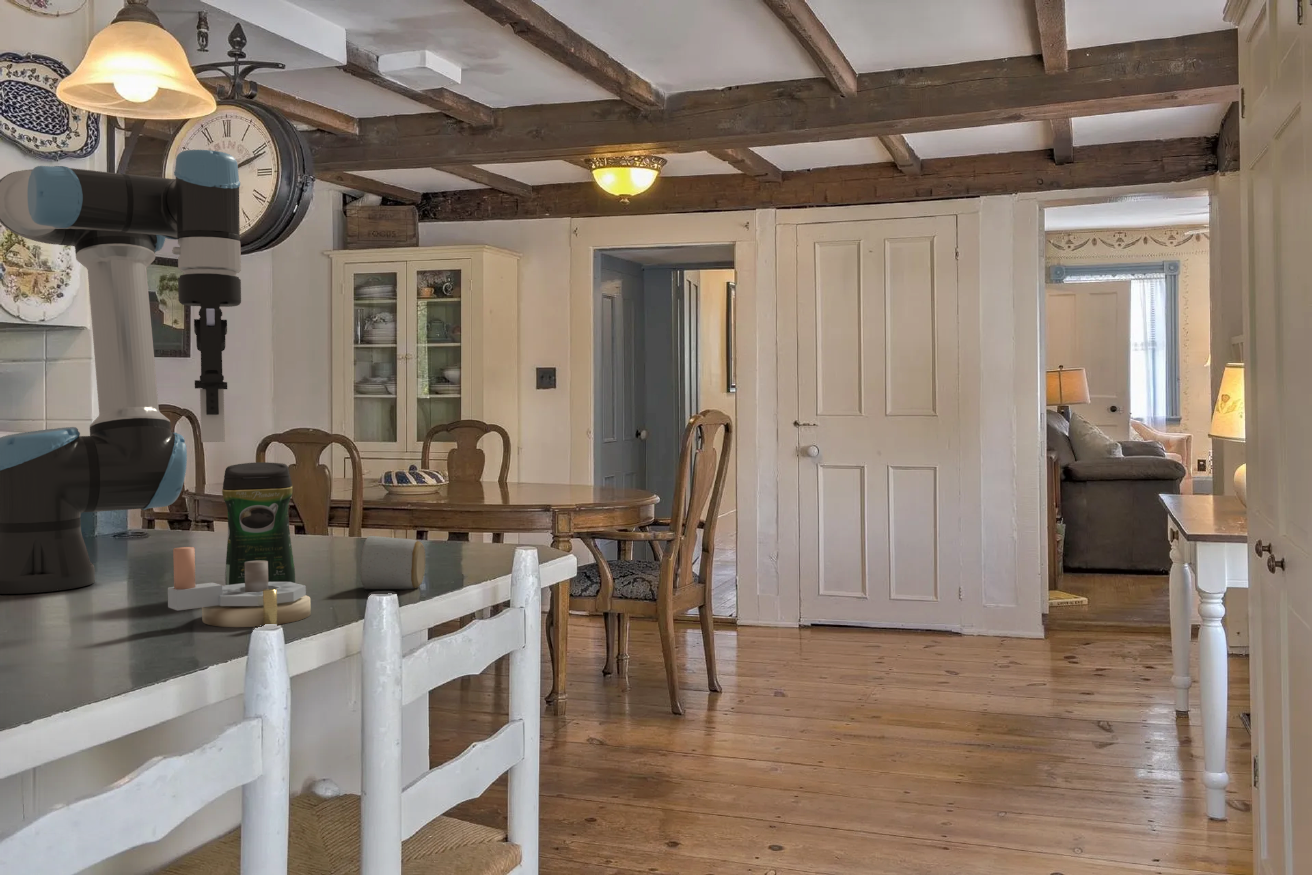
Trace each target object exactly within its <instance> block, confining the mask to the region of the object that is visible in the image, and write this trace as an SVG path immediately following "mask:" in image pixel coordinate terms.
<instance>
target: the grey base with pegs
mask: <svg viewBox="0 0 1312 875" xmlns="http://www.w3.org/2000/svg"><path fill="white" fill-rule="evenodd" d="M195 551H196V550H195V547H194V546H181V547H174V548H173V551H172V553H173V554H172V556H173V558H172V559H173V586H171V587H167V608H168V609H172V610H174V611H184V610H191V609H192V610H193V609H199V608H200V609H202V607H209V606H217V605H220V606H262V605H263V591H262V592H245V583H241V584H233V585H225V584H224V585H222V584H219V583H215V582H206V583H204V582H203V583H196V564H195V563H196V559H195V558H196V556H195V554H196V553H195ZM268 589H277V603H285V602H292V601H295V600H297V599H299V598H301V597H303V596H305V595H307V585H305V584H301V583H297V582H295V583H293V582H268Z"/></svg>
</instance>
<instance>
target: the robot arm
mask: <svg viewBox="0 0 1312 875" xmlns="http://www.w3.org/2000/svg"><path fill="white" fill-rule="evenodd" d="M238 164H239V163H238V161H237V159H236V158H235V156H233V155H232V154H229V153H227V152H223V151H219V150H213V149H212V150H211V149H188V150H187V149H186V150H183V151H180V152H179V153H178V154H177V155H176V158H175V167H174V168H175V169H174V171H173V175H174V176H175V178H167V177H159V176H150V175H149V176H147V175H139V174H138V175H137V174H127V173H116V172H108V171H101V170H100V171H99V170H98V171H97V170H91V169H83V168H75V167H74V168H73V167H71V168H70V167H68V166H62V165H54V166H53V165H52V166H50V165H37V166H34V168H31V169H24V170H23V169H22V170H17V171H13V172H9V173H7V175H6V174H5V176H3V177H2V178H0V224H1V225H2V227H5V229H7V230H9V231H10V232H12V233H13V234H15V235H17V236H20V237H22V238H25V239H28V240H31V241H35V242H38V243H42V244H48V245H55V246H56V245H59V246H66V247H67V246H68V247H74V252H75V260H76V261H77V262H78V263H79V264H80V265H82V266H84V268H86V270H87V277H88V278H87V279H88V292H89V305H90V315H91V328H92V341H93V343H92V344H93V353H94V364H95V365H94V366H95V376H96V379H95V380H96V390H97V402H98V416H96V418H95V420H94V421H93V422H92V423H91V424H90V425H89V435H81V432H80V431H79V429H78V428H77V427H75V426H69V427H68V426H67V427H65V426H64V427H57V428H48V429H47V428H46V429H40V430H33V431H31V430H30V431H26V432H25V431H24V432H19V433H14V434H8V435H4V436H0V594H2V595H3V594H5V595H7V594H8V595H13V594H16V595H17V594H35V593H46V592H48V593H49V592H57V591H66V590H70V589H76V588H77V589H78V588H82V587H86V586H90V585H93V584H94V583H95V582H96V573H95V572H96V568H95V566H94V563H92V562H91V561H90V556H89V552H88V548H87V546H86V543H85V540H84V537H83V534H82V527H81V526H82V525H81V524H82V523H81V520H82V519H81V515H82V513H97V512H98V513H99V512H110V511H111V512H112V511H113V512H114V511H127V510H141V511H146V510H148V509H155V508H156V509H157V508H164V507H169V506H170V505H172V504H174V503H175V502H176V501H177V500H178V498H179V497H180V495H181V492H182V489H183V487H184V486H183V485H184V484H185V483H184V482H185V477H186V472H187V464H188V463H187V462H188V458H187V457H188V453H187V452H188V451H187V445H186V443H185V441H186V440H185V438H184V436H183V435H182V434H180V433H177V432H172V425H171V420H170V419H169V418H168V417H167V416H165V415H164V414H163V413H161V411H160V409H159V407H160V406H159V397H158V396H159V395H158V394H159V393H158V386H157V374H156V363H155V350H154V342H153V329H152V318H151V306H150V296H149V285H148V283H149V282H148V276H147V275H148V274H147V269H148V267H149V266H150V265H151V264H152V263H153V262H154V261H155V259H156V253H157V252H159V251H161V250H162V249H163V247H164V245H165V242H166V239H168V240H177V245H178V246H173V247H172V252H171V253H172V254H173V255H177V256H178V255H179V256H178V257H177V268H178V270H179V271H180V272H183V274H180V275H179V277H177V290H178V291H177V292H178V294H177V295H178V302H179V304H180V305H183V306H188V307H200V308H199V311H198V316H199V318H198V319H197V318H194V319H193V330H194V334H195V336H196V337H195V340H196V348H197V350H198V351H199V352H200V375H199V379H197V380H194V389H199V396H200V397H199V398H200V399H199V401H200V438H201V439H200V441H201V442H200V443H220V442H221V443H225V442H226V441H225V436H226V434H225V396H224V395H225V394H224V393H225V392H224V391H225V390H228V382H227V381H224V380H225V377H224V375H223V352H224V351H225V349H226V335H227V334H228V319H222V316H223V311H222V309H221V307H222V308H223V307H225V308H227V307H229V308H230V307H231V308H232V307H237V306H240V305H241V304H242V279H240V277H239V276H237V274H239V273H240V272H241V271H242V265H241V264H242V259H241V258H242V257H241V256H242V254H241V250H242V249H241V241H240V240H241V239H240V233H241V232H240V231H241V229H240V186H241V182H240V177H239V166H238Z"/></svg>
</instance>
